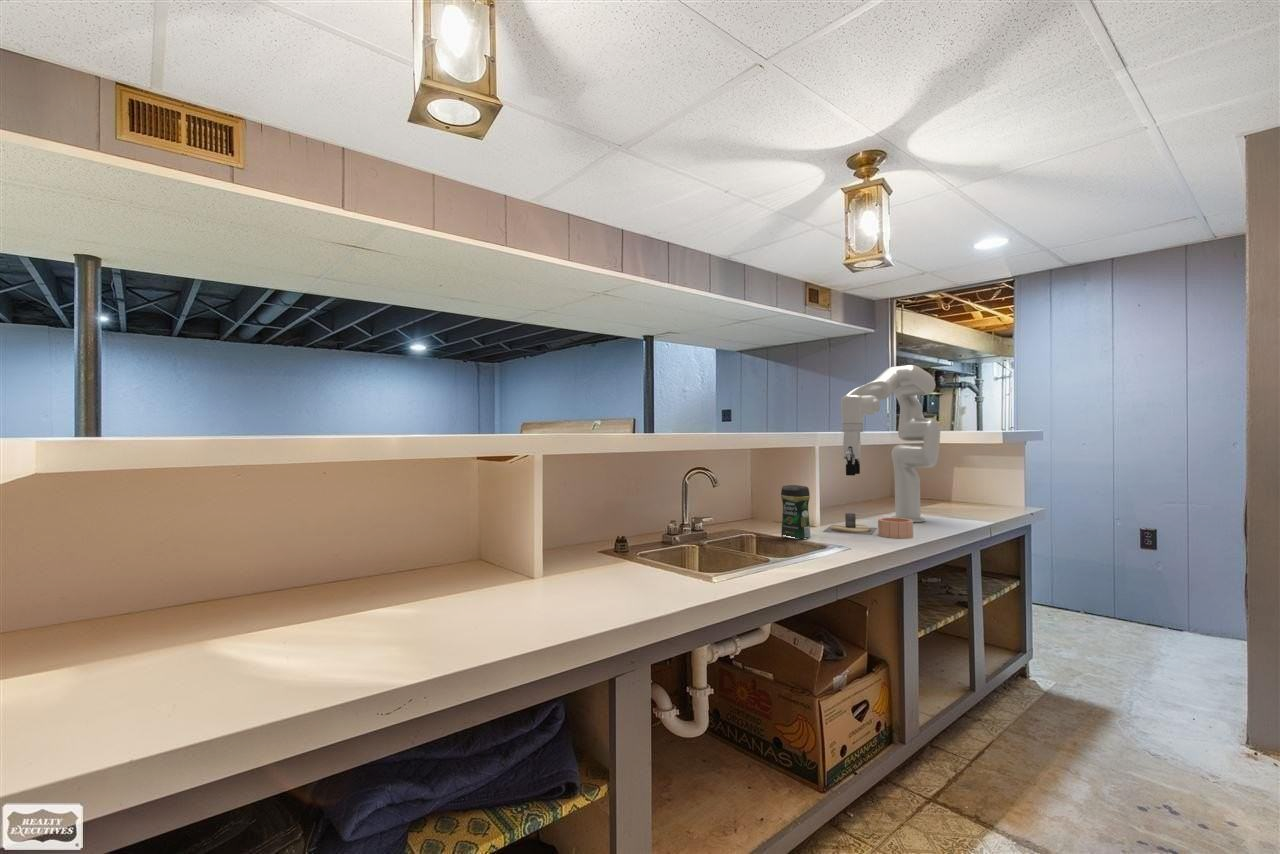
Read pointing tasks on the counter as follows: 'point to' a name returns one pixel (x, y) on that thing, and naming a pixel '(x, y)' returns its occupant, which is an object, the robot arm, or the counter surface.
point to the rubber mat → (851, 533)
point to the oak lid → (850, 525)
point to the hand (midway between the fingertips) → (853, 474)
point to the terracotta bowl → (895, 527)
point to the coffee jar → (795, 511)
